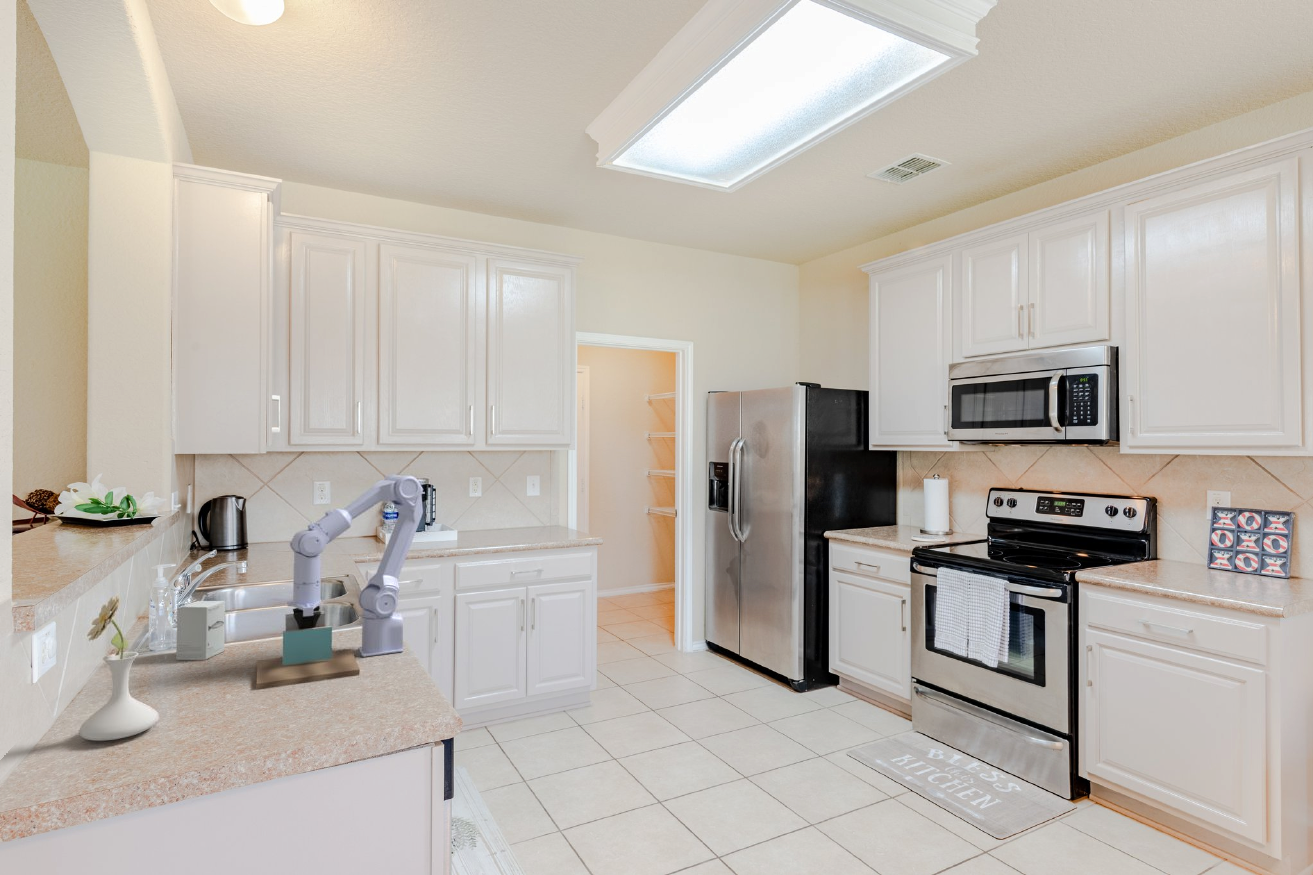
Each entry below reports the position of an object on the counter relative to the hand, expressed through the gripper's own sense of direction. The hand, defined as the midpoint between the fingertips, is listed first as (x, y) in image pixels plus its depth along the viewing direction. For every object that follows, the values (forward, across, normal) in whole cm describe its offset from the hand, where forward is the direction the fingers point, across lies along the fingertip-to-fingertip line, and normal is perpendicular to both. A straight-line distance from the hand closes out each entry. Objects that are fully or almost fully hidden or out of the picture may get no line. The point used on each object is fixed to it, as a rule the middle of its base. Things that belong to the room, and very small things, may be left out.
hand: (306, 640), depth 163 cm
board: (+6, +4, 0) cm, 7 cm away
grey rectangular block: (+3, 0, 0) cm, 3 cm away
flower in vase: (+6, +28, -31) cm, 42 cm away
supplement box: (+6, -20, -22) cm, 30 cm away
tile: (0, +3, 0) cm, 3 cm away
